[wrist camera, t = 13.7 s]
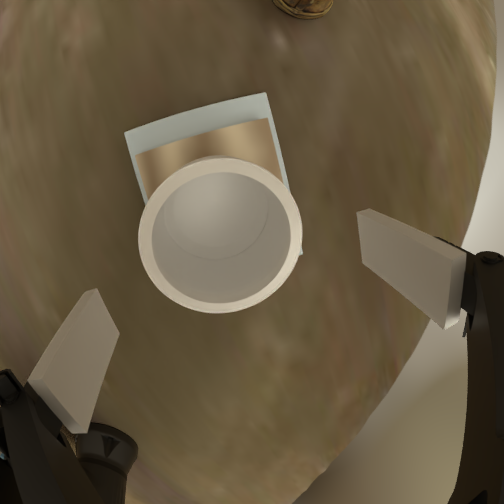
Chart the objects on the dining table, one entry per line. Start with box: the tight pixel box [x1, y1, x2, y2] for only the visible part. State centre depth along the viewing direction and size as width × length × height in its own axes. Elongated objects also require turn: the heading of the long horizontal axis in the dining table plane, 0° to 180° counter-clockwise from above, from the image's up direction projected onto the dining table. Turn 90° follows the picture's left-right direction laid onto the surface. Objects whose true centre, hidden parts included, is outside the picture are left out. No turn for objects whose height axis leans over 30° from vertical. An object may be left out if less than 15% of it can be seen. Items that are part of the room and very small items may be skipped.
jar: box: [138, 155, 302, 313], centre depth 25 cm, size 11×10×15 cm
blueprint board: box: [124, 92, 303, 255], centre depth 36 cm, size 18×22×1 cm
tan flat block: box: [135, 118, 284, 201], centre depth 34 cm, size 15×15×4 cm
